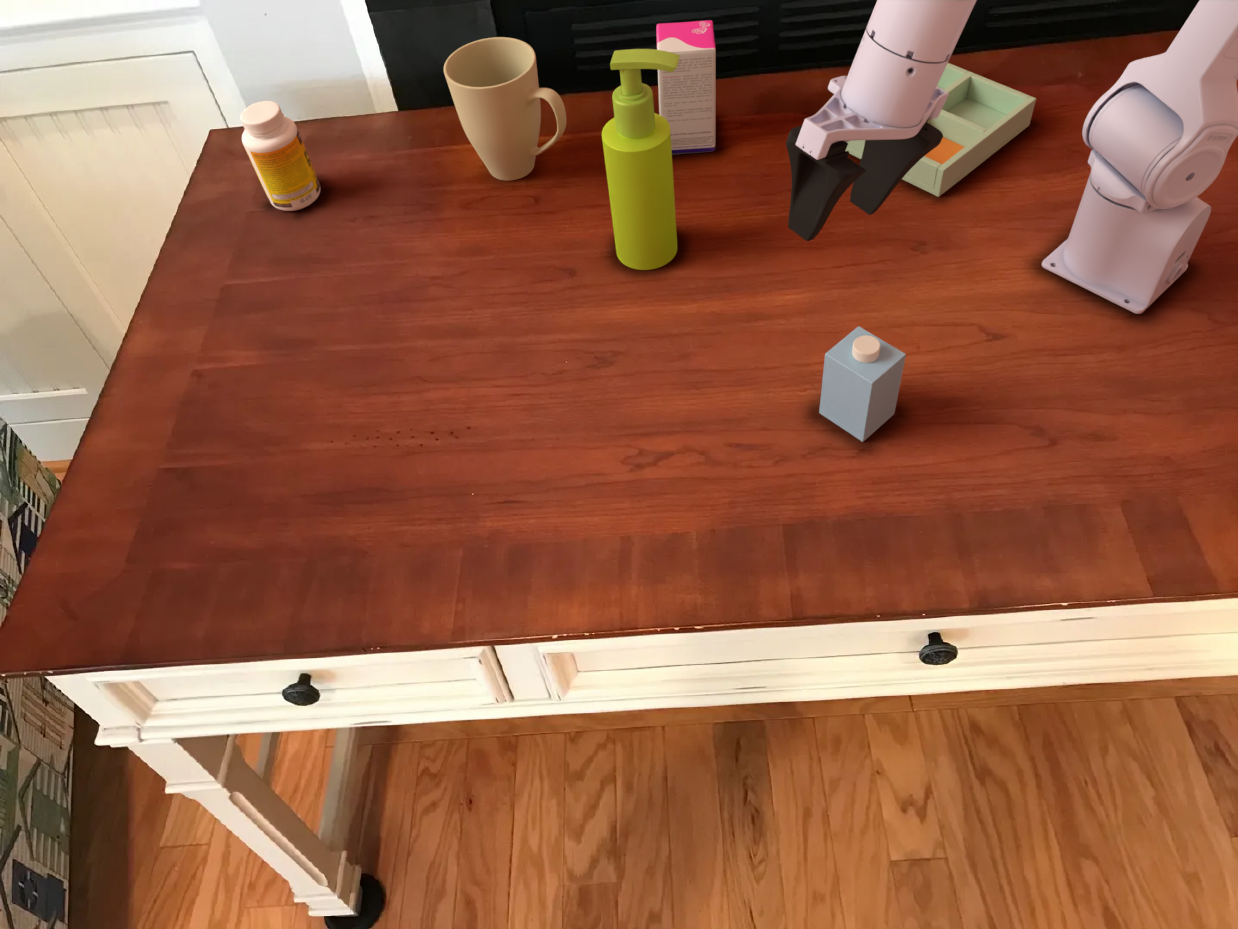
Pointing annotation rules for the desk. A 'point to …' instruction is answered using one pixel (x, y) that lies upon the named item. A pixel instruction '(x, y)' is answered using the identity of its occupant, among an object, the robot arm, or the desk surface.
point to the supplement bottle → (279, 157)
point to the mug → (501, 103)
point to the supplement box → (689, 85)
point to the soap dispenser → (640, 164)
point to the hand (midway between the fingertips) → (832, 219)
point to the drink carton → (861, 383)
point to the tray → (966, 128)
